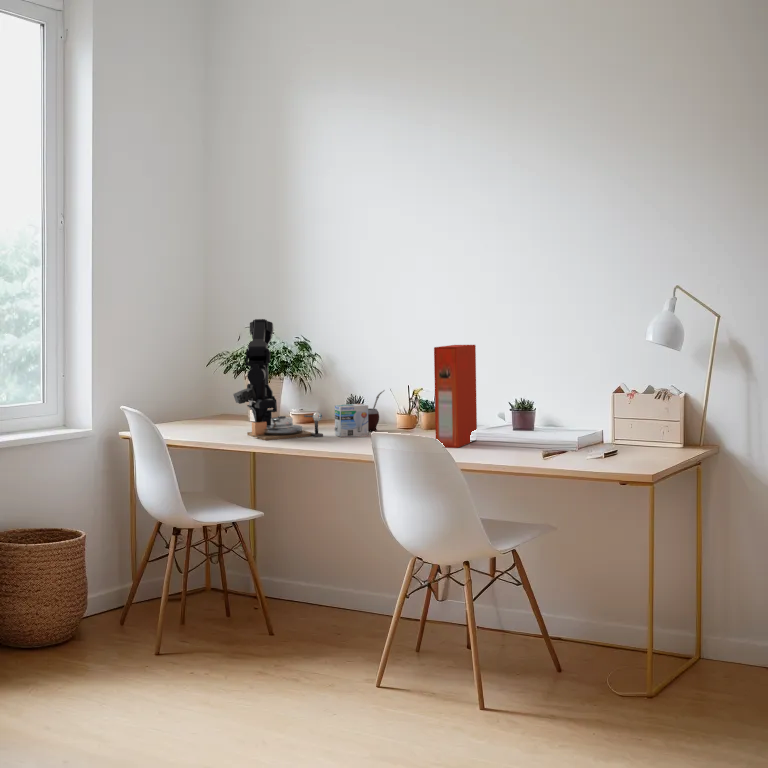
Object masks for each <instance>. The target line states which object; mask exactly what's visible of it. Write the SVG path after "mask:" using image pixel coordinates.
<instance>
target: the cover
mask: <svg viewBox="0 0 768 768" xmlns="http://www.w3.org/2000/svg"><path fill="white" fill-rule="evenodd" d="M293 419H294V418H293V417H292V416H291V417H290V416H286V415H278V416H276V417H275V416H274V417H272V418H271V425H270V428H274V429H285V428H293V427H294V425H295V424H294V422H293Z"/></svg>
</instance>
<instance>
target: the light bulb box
mask: <svg viewBox="0 0 768 768" xmlns="http://www.w3.org/2000/svg"><path fill="white" fill-rule="evenodd" d="M368 409H369V405H367V404H364V403H351V404H350V403H347V404H335V405H334V434H335V436H338V437H340V438H344V437H345V438H347V437H362V436H363V437H364V436H369V432H368Z"/></svg>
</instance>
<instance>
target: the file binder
mask: <svg viewBox="0 0 768 768" xmlns="http://www.w3.org/2000/svg"><path fill="white" fill-rule="evenodd" d="M476 353H477V351H476V344H452V345H441V346H434V347H433V361H434V363H433V365H434V367H433V369H434V370H433V371H434V373H433V374H434V408H435V410H434V412H435V413H434V415H435V417H434V418H435V419H434V420H435V427H434V428H435V440H436V439H438V440H439V441H440V442H441V443H443V445H444V446H445V447H444V448H447V449H448V448H450V449H451V448H454V449H457V448H461V447H463V446H466V445H469V444H471V443H470V435H471V432H472V431H474V430H476V429H477V430H478V427H477V426H478V425H477V424H478V421H477V420H478V418H477V415H478V414H477V358H476V357H477V356H476V355H477V354H476Z"/></svg>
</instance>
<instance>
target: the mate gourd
mask: <svg viewBox="0 0 768 768" xmlns="http://www.w3.org/2000/svg"><path fill="white" fill-rule="evenodd" d="M385 391H386V390H385V389H383V390H382V391H380V392H379V393H378V394H377V395H376V398H375V402H374V404H373V407H372V408H368V433H369V432H371V433H373V432H372V431H375V432H376V431H378V429H377V426H378V424H379V422H380V414H379V411H378V409H377V408H376V405H377V404H378V403H377V402H378V400H379V398H380V396H381V395H382V394H383V393H384V392H385Z"/></svg>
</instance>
